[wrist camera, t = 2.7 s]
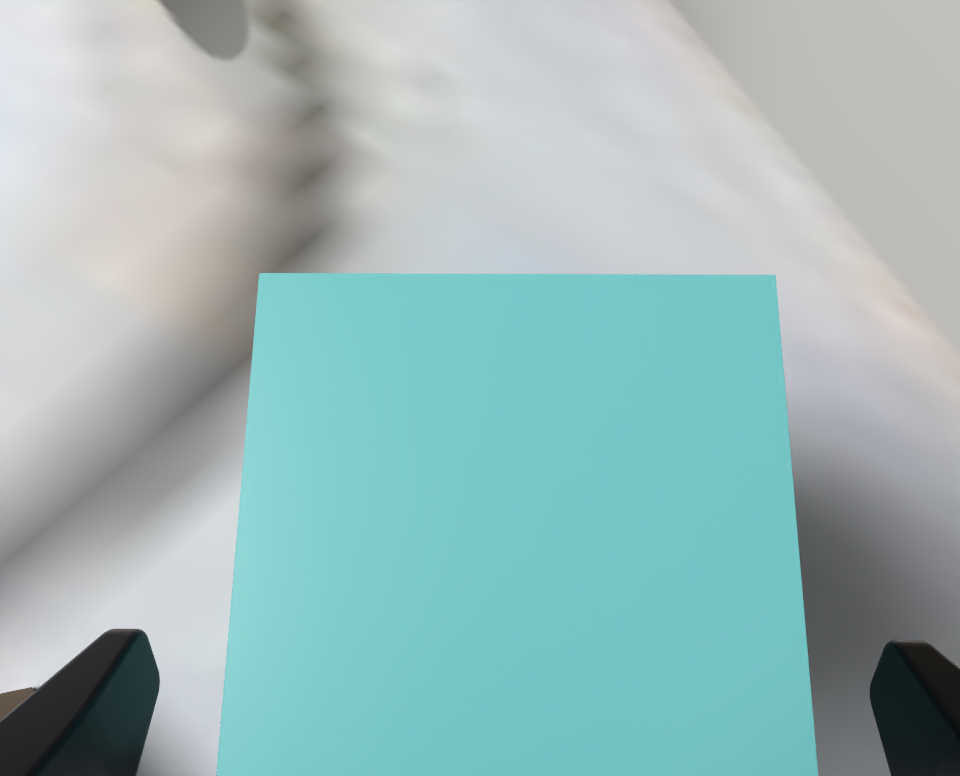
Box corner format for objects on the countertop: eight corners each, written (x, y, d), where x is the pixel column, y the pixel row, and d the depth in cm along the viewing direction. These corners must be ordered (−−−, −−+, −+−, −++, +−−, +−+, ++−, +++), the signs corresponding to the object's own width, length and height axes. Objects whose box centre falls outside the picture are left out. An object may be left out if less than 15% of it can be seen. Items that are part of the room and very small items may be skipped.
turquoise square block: (670, 730, 14) (824, 853, 8) (343, 724, 15) (211, 841, 8) (656, 408, 16) (775, 274, 9) (358, 406, 16) (258, 272, 9)
